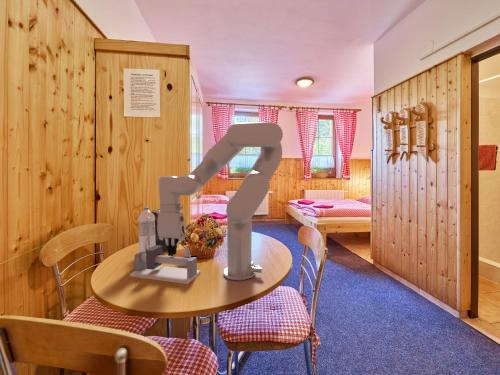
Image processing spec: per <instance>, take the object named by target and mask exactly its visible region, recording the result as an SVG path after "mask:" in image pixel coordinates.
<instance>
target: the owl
mask: <svg viewBox="0 0 500 375" xmlns="http://www.w3.org/2000/svg"><path fill="white" fill-rule="evenodd" d="M151 212H152V213H153V214H154V216H155V234H156V245H159V246H162V253H164V252H168V249H167V245H166V243H165V242H164V241H163V240H160V239H159V236H158V232H157V223H158V214H159V212H160V208H158V209H154V210H152V211H151ZM176 247H177V248H178V243H177V244H176Z"/></svg>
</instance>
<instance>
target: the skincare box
mask: <svg viewBox="0 0 500 375" xmlns="http://www.w3.org/2000/svg"><path fill="white" fill-rule="evenodd" d="M184 254H185V255H184V256H185V257H184V258H191V254H190V251H189V249H188V248H186V247H185V246H184Z"/></svg>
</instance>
